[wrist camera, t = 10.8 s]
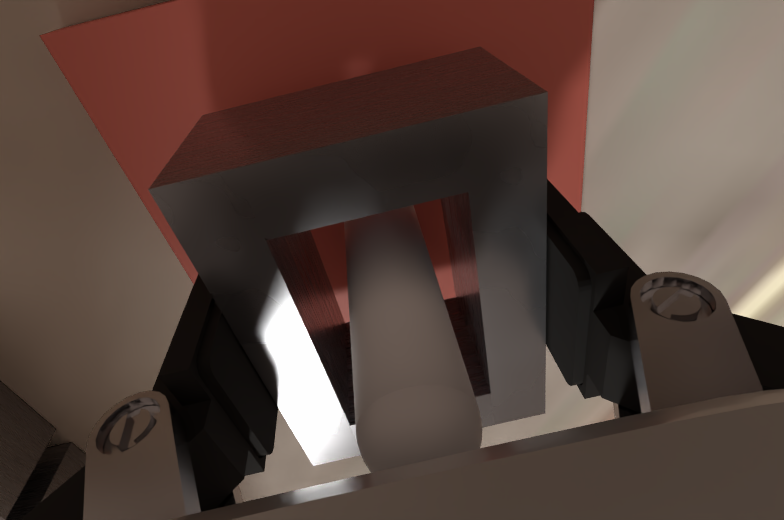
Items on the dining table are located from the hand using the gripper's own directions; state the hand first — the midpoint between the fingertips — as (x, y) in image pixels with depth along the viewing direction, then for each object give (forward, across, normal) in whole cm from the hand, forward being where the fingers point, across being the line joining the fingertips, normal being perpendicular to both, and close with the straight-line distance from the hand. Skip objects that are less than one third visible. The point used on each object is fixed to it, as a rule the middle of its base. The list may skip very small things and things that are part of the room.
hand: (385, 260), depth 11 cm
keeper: (+3, 0, 0) cm, 3 cm away
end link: (+1, 0, 0) cm, 1 cm away
